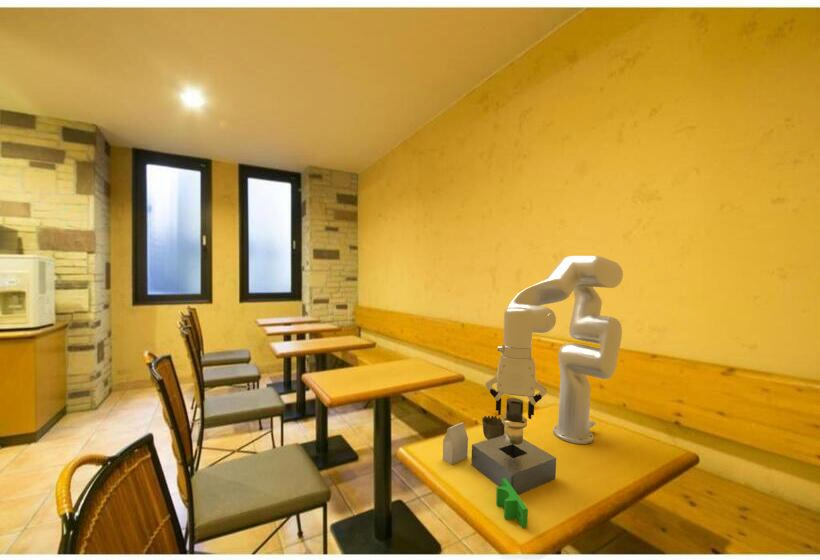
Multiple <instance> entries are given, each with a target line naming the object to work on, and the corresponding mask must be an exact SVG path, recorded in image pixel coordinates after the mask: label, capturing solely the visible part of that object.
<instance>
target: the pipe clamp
mask: <svg viewBox="0 0 820 560" xmlns="http://www.w3.org/2000/svg"><path fill="white" fill-rule="evenodd" d="M495 496H496V502H495V505H496V506H497V507H501V508H504V510H503V518H504V520H514V519H515V520H516V521H517V523H518V524H519V525H520V527H521V529H525V528H526V529H527V528H528V510H529V509H528V507H527V505H526V504H525V503H524V502H523V500H522V498H521V496H519V495H518V494H517V493H516V492H515V490H514V489H513V487H512V486H511V485H510V483H509V482H508V480H507V479H506V478H503V479H502V486H501V487H499V486H496V494H495Z"/></svg>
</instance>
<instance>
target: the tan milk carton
mask: <svg viewBox="0 0 820 560" xmlns="http://www.w3.org/2000/svg"><path fill="white" fill-rule="evenodd" d="M468 444H469V438H468V433H467V429H466V427H465V422H460V423H457V424H455V425H453V426H450V427H448V428H447V430H446V433H445V435H444V437H443V439H442V460H443V461H444V462H446V463H448V464H449V465H452V466H453V465H455V464H457V463H458V462H461V461H462V460H464V459H467V458H468V453H469V451H468V450H469V449H468V448H469V445H468Z"/></svg>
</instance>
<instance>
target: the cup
mask: <svg viewBox="0 0 820 560" xmlns="http://www.w3.org/2000/svg"><path fill="white" fill-rule="evenodd" d="M481 419H482V420H481V422H482V432H483V436H484V437H485V439H486V440H489V439H493V438H496V437H499V436H503V435H504V428H505V425H504V424H503V423H502V422H501V419H502V418H501V417H500V416H498V417H497V415H491V416H490V415H488V416H486V415H484V416H483V417H482V418H481Z"/></svg>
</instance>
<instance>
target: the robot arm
mask: <svg viewBox="0 0 820 560" xmlns="http://www.w3.org/2000/svg"><path fill="white" fill-rule="evenodd" d="M623 277H624V273H623V270H622V266H621V265H620V264H619V263H618V262H616V261H614V260H611V259H608V258H607V257H603V256H600V255H568V256H565V257H563V258H562V259H561V260H560V261H559V262H558V263H557V264H556V266H555V267H554V269H552V271H551V272H550V273H549V274H548V275H547V276H546V278H545V279H544V280H542V281H539V282H537V283H534V284H532V285H531V286H527V287H526V288H524V289H523V290H521V291H519V292H518V293H517V294H516V295H515V296H514V297H513V298H512V300H510V302H509V304H508V306H507V307H506V308H505V309H504V314H503V334H502V335H503V337H502V338H503V339H502V345H500V346H497V352H501V354H500V356H499V359H498V364H497V370H496V371H497V373H496V376H494V377H492V378H491V379H489V380H488V381H486V382H485V388H486V389H487V390H488V391H489V393H490V394H491V396H492V397H493V398H494V399H495V411H497V414H498V415H497V416H502V397H503V395H509V396H510V395H511V396H519V397H526V398H528V400H529V401H528V405H527V418H528V419H529V420H532V416H534V415H535V405H536V404H537V403H538V402H539V401H540V400H542V398H543V397H544V396H546V394H548V390H547V388H546V387H544V386H543V385H542V383H540V382H538V381H537V377H536V363H535V359H534V358H533V357H532V342H533V341H532V340H533V334H534V333H535V334H536V333H538V334H545V333H548V332H551V331H552V330H553V329H554V327H555V325H556V324H557V323H556V322H557V316H556V314H555V312H554V310H552V309H551V308H550V307H547V306H544V305H549V304H555V303H559V302H562V301H565V300H567V299H568V298H569V297H570V295H571V294H572V293H574V304H573V308H572V314H571V318H570V322H569V328H568V329H569V331H568V332H569V335H570V336H571V338H572V339H574V340H577V341H581V342H585V343H586V342H587V343H592V344H596V345H599V346H600V347H597V346H596V347H595V346H590V345H585V344H581V343H575V342H574V343H573V342H568V343H567V342H566V343H564V344H563V345H561V347H560V348H559V350H558V353H557V354H558V357H557V358H558V365H559V379H560V381H559V397H558V398H559V399H558V401H559V403H558V423H557V424H556V425H554V426H553V429H552V432H553V434H554V435H555V436H556V437H557V438H559V439H560V440H562V441H566V442H568V443H573V444H577V445H578V444H579V445H587V444H590V443H592V442H593V441H594V434H593V433H592V432H591V431H590V430H591V428H593V427H595V426H596V424H597V423H596V421H595V420H593V419H591V420H590V413H591V412H590V411H591V410H590V409H591V408H590V407H591V392H592V391H591V390H592V389H591V383H590V381H589V379H588V377H593V378H596V379H597V378H598V379H601V380H609V379H611V378H612V377H613V376H614V375H615V372H616V369H617V364H618V359H619V353H620V349H621V342H622V336H623V328H622V327H623V326H622V324H621V322H620V321H619V320H618V319H617V318H615V317H612V316H608V315H601V310H602V305H603V302H602V298H601V296H600V295H599V293H598V292H597V290H596V289H595V288H605V289H606V288H607V289H611V288H612V289H613V288H614V289H615V288H617V287H618V286H619V285H620V284H621V283H622V281H623ZM587 376H588V377H587ZM494 384H496V390H495V388H494V387H493V386H494ZM536 389H538V390H539V392H538V393H536Z"/></svg>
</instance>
